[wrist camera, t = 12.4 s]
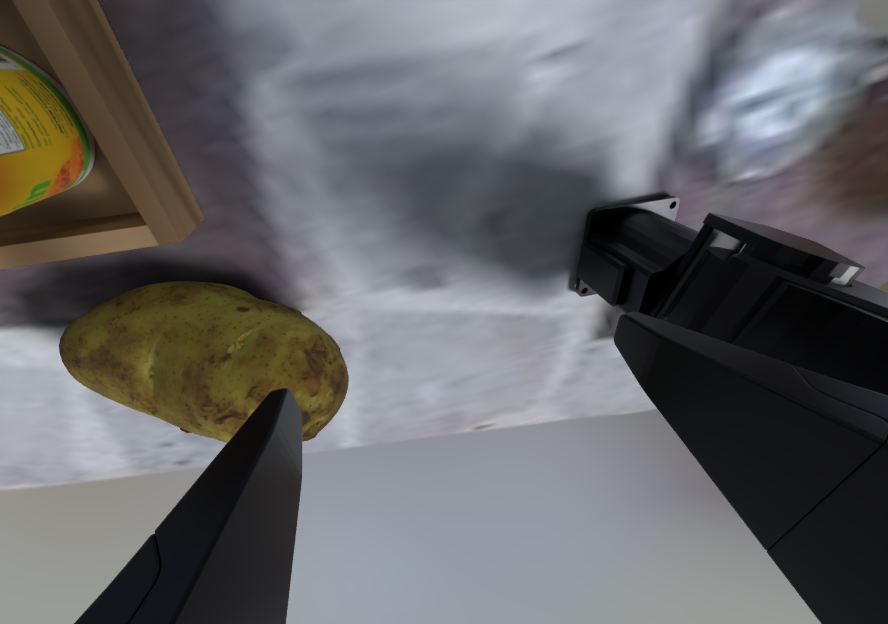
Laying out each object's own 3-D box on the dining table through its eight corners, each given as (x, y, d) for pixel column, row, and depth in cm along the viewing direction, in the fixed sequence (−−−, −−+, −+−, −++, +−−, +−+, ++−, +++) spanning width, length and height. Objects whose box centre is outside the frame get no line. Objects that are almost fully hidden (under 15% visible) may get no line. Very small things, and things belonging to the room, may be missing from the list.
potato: (116, 208, 17) (-30, 291, 10) (364, 304, 23) (371, 394, 16) (90, 336, 20) (-36, 462, 13) (314, 390, 26) (303, 495, 19)
